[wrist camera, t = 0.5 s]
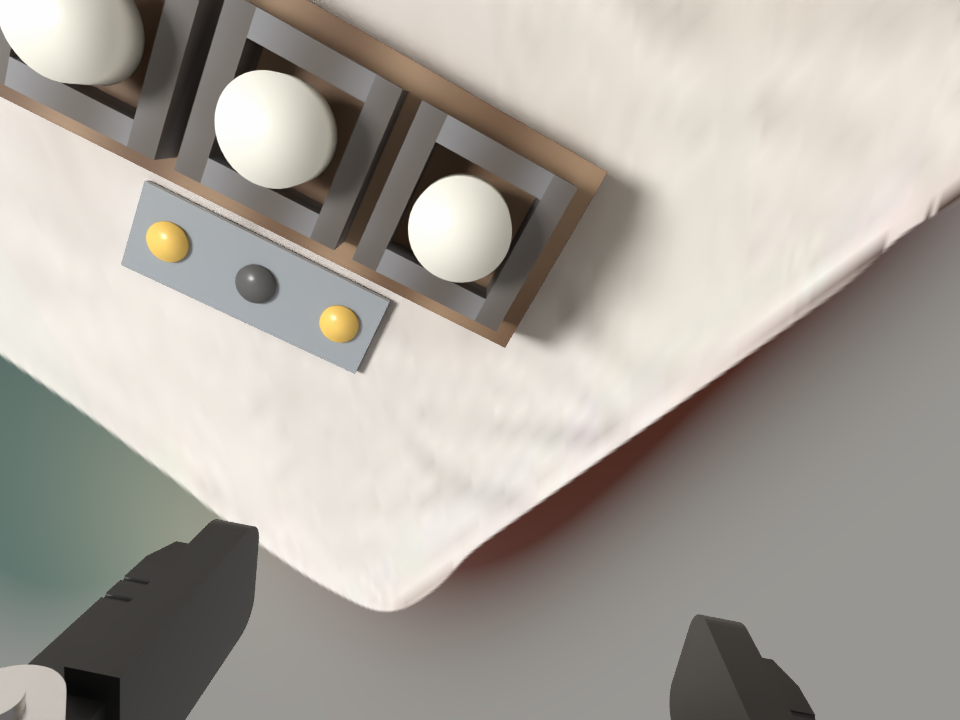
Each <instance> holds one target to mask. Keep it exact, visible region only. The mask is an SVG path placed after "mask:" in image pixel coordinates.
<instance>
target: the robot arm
mask: <svg viewBox="0 0 960 720" xmlns="http://www.w3.org/2000/svg"><path fill="white" fill-rule="evenodd" d="M258 543H259V532H258V529H257V528H256V527H254V526H249V525H244V524H238V523H233V522H228V521H223V520H218V519H215V520H213V521H211V522H210V523H209V524H208V525H207V526H206V527H205V528H204V529H203V530H202V531H201V532H200V533H199V534H198V535H197V536H196V537H195V538H194V539H193V540H192V541H191V542H190V543H188V544H187V543H182V542H177V541H176V542H174V543H172V544H170V545H168V546H166V547H164V548H162V549H160V550H158V551H156V552H154V553H152V554H150V555H148V556H146V557H145V558H144V559H143V560H142V561H141V562H140V563H138V564H137V565H136V566H135V567H134V568H133V569H132V570H131V571H130V572H129V573H128V574H126V575H125V578H124V580H123V581H122V580H120V581H119V582H118V583H116V585H114V586H113V587H112V588H111V589H110V590H109V591H108V592H107V593H106V596H105V597H104V598H102V597H101V598H100V599H99V600H98V601H97V602H96V603H95V604H93V605H92V606H91V607H90V608H89V609H88V610H87V611H86V612H85V613H84V614H82V615H81V616H80V617H79V618H78V619H77V620H76V621H75V622H74V623H73V624H71V625H70V626H69V627H68V628H67V629H66V630H65V631H64V632H63V633H62V634H61V635H60V636H59V637H57V638H56V639H55V640H54V641H53V642H52V643H51V644H50V645H48V646H47V647H46V648H45V649H44V650H43V651H42V652H41V653H40V654H39V655H38V656H36V657H35V658H34V659H33V660H32V661H31V662H30V663H29V664H28V665H15V666H9V667H4V668H0V720H185V719H186V718H187V716H188V715H189V713H190V712H191V710H192V709H193V707H194V706H195V704H196V702H197V701H198V699H199V698H200V696H201V695H202V694H203V692H204V691H205V689H206V688H207V686H208V685H209V683H210V682H211V680H212V679H213V677H214V676H215V674H216V673H217V671H218V670H219V668H220V667H221V665H222V664H223V662H224V661H225V659H226V658H227V656H228V655H229V653H230V652H231V650H232V649H233V647H234V646H235V644H236V642H237V641H238V640H239V638H240V636H241V635H242V633H243V631H244V629H245V627H246V625H247V623H248V620H249V617H250V614H251V611H252V607H253V602H254V593H255V581H256V569H257V555H258ZM670 716H671V720H815V714H814V712H813V711H812V709H811V707H810V705H809V704H808V702H807V700H806V698H805V697H804V695H803V693H802V692H801V690H800V688H799V687H798V685H797V684H796V683H795V682H794V681H793V680H792V679H791V678H790V677H789V676H788V675H787V674H786V673H785V672H784V671H783V670H782V669H781V668H780V667H779V666H778V665H777V664H776V663H775V662H774V661H773V660H771V659H766V658H762V657H761V655H760V653H759V651H758V649H757V647H756V646H755V644H754V642H753V640H752V638H751V636H750V634H749V632H748V631H747V629H746V627H745V626H744V625H743V624H742V623H740V622H735V621H730V620H725V619H720V618H715V617H709V616H704V615H696V616H695V617H694V618H693V620H692V621H691V624H690V627H689V630H688V633H687V636H686V639H685V643H684V646H683V649H682V652H681V655H680V659H679V662H678V665H677V668H676V672H675V675H674V678H673V681H672V685H671V690H670Z"/></svg>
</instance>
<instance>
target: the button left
mask: <svg viewBox="0 0 960 720" xmlns="http://www.w3.org/2000/svg"><path fill="white" fill-rule="evenodd" d="M0 27H1V30H2V32H3V34H4V36H5V38H6V40H7V41H8V43H9V45H10V46H11V48H12V49H13V50H14V52H15V53H16V54H17V55H18V56H19V57H20V58H21V60H22V61H23V62H25V63H26V64H27V65H28V66H29V67H30V68H32V69H33V70H34V71H36V72H37V73H39V74H41V75H42V76H44V77H47V78H49V79H51V80H54V81H58V82H62V83H70V84H82V85H93V86H111V85H115V84H118V83H121V82H123V81H125V80H126V79H127V78H129V77H130V76H131V75H132V74H133V73H134V72H135V70H136V69H137V68H138V66H139V64H140V62H141V59H142V56H143V52H144V45H145V35H144V27H143V22H142V19H141V15H140V13H139V11H138V8H137V6H136V4H135V2H134V0H0Z"/></svg>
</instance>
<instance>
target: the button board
mask: <svg viewBox="0 0 960 720" xmlns="http://www.w3.org/2000/svg"><path fill="white" fill-rule="evenodd" d="M134 2H135V4H136V6H137V8H138V11H139V13H140V15H141V19H142V22H143V27H144V35H145V45H144V52H143V56H142V59H141V62H140V64H139V66H138V68H137V69H136V70H135V72H134V73H133V74H132V75H131V76H130V77H129V78H127V79H126V80H125V81H123V82H121V83H118V84H115V85H111V86H93V85H82V84H70V83H62V82H58V81H54V80H51V79H49V78H47V77H44V76H42V75H41V74H39V73H37V72H36V71H34V70H33V69H32V68H30V67H29V66H28V65H27V64H26V63H25V62H23V61H22V60H21V58H20V57H19V56H18V55H17V54H16V53H15V52H14V50H13V49H12V48H11V46H10V45H9V43H8V41H7V40H6V38H5V36H4V34H3V32H2V30H1V27H0V97H2V98H4V99H7V100H9V101H11V102H13V103H15V104H17V105H19V106H21V107H23V108H25V109H27V110H29V111H31V112H33V113H35V114H37V115H39V116H41V117H43V118H45V119H47V120H49V121H51V122H53V123H55V124H57V125H59V126H61V127H63V128H65V129H67V130H69V131H71V132H73V133H75V134H77V135H79V136H81V137H83V138H85V139H87V140H89V141H91V142H93V143H95V144H97V145H99V146H101V147H103V148H105V149H107V150H109V151H111V152H113V153H115V154H117V155H119V156H121V157H123V158H125V159H127V160H129V161H131V162H133V163H135V164H137V165H139V166H141V167H143V168H145V169H147V170H149V171H151V172H153V173H155V174H157V175H159V176H161V177H163V178H165V179H167V180H169V181H171V182H173V183H175V184H177V185H179V186H181V187H183V188H185V189H187V190H189V191H191V192H193V193H195V194H197V195H199V196H201V197H203V198H205V199H207V200H209V201H211V202H213V203H215V204H217V205H219V206H221V207H223V208H225V209H227V210H229V211H231V212H233V213H236V214H238V215H240V216H242V217H244V218H246V219H248V220H250V221H252V222H254V223H256V224H258V225H260V226H262V227H264V228H266V229H268V230H270V231H272V232H274V233H276V234H278V235H280V236H282V237H284V238H286V239H288V240H290V241H292V242H294V243H296V244H298V245H300V246H302V247H304V248H306V249H308V250H310V251H312V252H314V253H316V254H318V255H320V256H322V257H324V258H326V259H328V260H330V261H332V262H334V263H336V264H338V265H340V266H342V267H344V268H346V269H348V270H350V271H352V272H354V273H356V274H358V275H360V276H362V277H364V278H366V279H368V280H370V281H372V282H374V283H376V284H378V285H380V286H382V287H384V288H386V289H388V290H390V291H392V292H394V293H396V294H398V295H400V296H402V297H404V298H406V299H408V300H410V301H412V302H414V303H416V304H418V305H420V306H422V307H424V308H426V309H428V310H430V311H432V312H434V313H436V314H438V315H440V316H442V317H444V318H446V319H448V320H450V321H452V322H454V323H456V324H458V325H460V326H463V327H465V328H467V329H469V330H471V331H473V332H475V333H477V334H479V335H481V336H483V337H485V338H487V339H489V340H491V341H493V342H495V343H497V344H499V345H501V346H503V347H506V345H507V344H508V342H509V340H510V338H511V337H512V335H513V333H514V332H515V330H516V328H517V326H518V325H519V323H520V321H521V320H522V318H523V316H524V314H525V313H526V311H527V309H528V308H529V306H530V304H531V302H532V301H533V299H534V297H535V296H536V294H537V292H538V290H539V289H540V287H541V285H542V284H543V282H544V280H545V278H546V277H547V275H548V273H549V272H550V270H551V268H552V266H553V265H554V263H555V261H556V260H557V258H558V256H559V254H560V253H561V251H562V249H563V248H564V246H565V244H566V242H567V241H568V239H569V237H570V236H571V234H572V232H573V230H574V229H575V227H576V225H577V224H578V222H579V220H580V218H581V217H582V215H583V213H584V212H585V210H586V208H587V206H588V205H589V203H590V201H591V200H592V198H593V196H594V194H595V193H596V191H597V189H598V187H599V186H600V184H601V182H602V181H603V179H604V177H605V175H606V174H607V172H606V171H604V170H602V169H601V168H599V167H597V166H596V165H594V164H592V163H590V162H589V161H587V160H585V159H583V158H582V157H580V156H578V155H576V154H575V153H573V152H571V151H569V150H568V149H566V148H564V147H562V146H561V145H559V144H557V143H555V142H554V141H552V140H550V139H548V138H547V137H545V136H543V135H542V134H540V133H538V132H536V131H535V130H533V129H531V128H529V127H528V126H526V125H524V124H522V123H521V122H519V121H517V120H515V119H514V118H512V117H510V116H508V115H507V114H505V113H503V112H501V111H500V110H498V109H496V108H495V107H493V106H491V105H489V104H488V103H486V102H484V101H482V100H481V99H479V98H477V97H475V96H474V95H472V94H470V93H468V92H467V91H465V90H463V89H461V88H460V87H458V86H456V85H454V84H453V83H451V82H449V81H448V80H446V79H444V78H442V77H441V76H439V75H437V74H435V73H434V72H432V71H430V70H428V69H427V68H425V67H423V66H421V65H420V64H418V63H416V62H414V61H413V60H411V59H409V58H407V57H406V56H404V55H402V54H401V53H399V52H397V51H395V50H394V49H392V48H390V47H388V46H387V45H385V44H383V43H381V42H380V41H378V40H376V39H374V38H373V37H371V36H369V35H367V34H366V33H364V32H362V31H360V30H359V29H357V28H355V27H353V26H352V25H350V24H348V23H347V22H345V21H343V20H341V19H340V18H338V17H336V16H334V15H333V14H331V13H329V12H327V11H326V10H324V9H322V8H320V7H319V6H317V5H315V4H313V3H312V2H310V1H308V0H134ZM257 70H268V71H274V72H279V73H283V74H288V75H292V76H295V77H298V78H300V79H303V80H305V81H306V82H308V83H309V84H311V85H312V86H313V87H315V88H316V89H317V90H318V91H319V92H320V93H321V94H322V95H323V97H324V98H325V99H326V101H327V102H328V104H329V106H330V107H331V110H332V112H333V114H334V117H335V120H336V125H337V134H338V137H337V147H336V151H335V154H334V157H333V159H332V161H331V163H330V164H329V166H328V167H327V168H326V169H325V170H324V172H323V173H321V174H320V175H319V176H317V177H316V178H314V179H312V180H310V181H307V182H305V183H302V184H299V185H296V186H293V187H289V188H283V189H272V188H266V187H263V186H259V185H257V184H254V183H252V182H250V181H249V180H247V179H245V178H244V177H243V176H241V175H240V174H239V173H238V172H237V171H236V170H235V169H234V168H233V167H232V166H231V165H230V164H229V162H228V161H227V159H226V158H225V156H224V154H223V152H222V151H221V148H220V146H219V143H218V140H217V137H216V132H215V110H216V106H217V103H218V100H219V98H220V96H221V94H222V92H223V90H224V89H225V88H226V87H227V85H228V84H229V83H230V82H231V81H233V80H234V79H235V78H237V77H238V76H240V75H242V74H244V73H247V72H251V71H257ZM459 173H462V174H471V175H475V176H478V177H481V178H483V179H485V180H486V181H488V182H490V183H491V184H492V185H493V186H494V187H496V189H497V190H498V191H499V192H500V193H501V195H502V196H503V198H504V200H505V202H506V204H507V206H508V209H509V214H510V218H511V224H512V238H511V243H510V247H509V250H508V252H507V254H506V256H505V258H504V259H503V261H502V262H501V263H500V265H499V266H498V267H497V268H496V269H495V270H494V271H493V272H491V273H490V274H488V275H487V276H485V277H483V278H481V279H478V280H475V281H471V282H451V281H447V280H443V279H441V278H439V277H437V276H435V275H433V274H432V273H430V272H429V271H428V270H426V269H425V268H424V267H423V266H422V265H421V263H420V262H419V261H418V259H417V258H416V256H415V254H414V252H413V250H412V248H411V245H410V241H409V235H408V224H409V218H410V213H411V211H412V208H413V206H414V204H415V203H416V201H417V199H418V198H419V197H420V195H421V194H422V193H423V192H424V191H425V190H426V189H427V188H428V187H429V186H430V185H431V184H432V183H434V182H435V181H437V180H438V179H440V178H442V177H445V176H448V175H452V174H459Z"/></svg>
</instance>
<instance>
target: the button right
mask: <svg viewBox="0 0 960 720" xmlns="http://www.w3.org/2000/svg"><path fill="white" fill-rule="evenodd" d="M408 235H409V241H410V245H411V248H412V250H413V252H414V254H415V256H416V258H417V259H418V261H419V262H420V263H421V265H422V266H423V267H424V268H425V269H426V270H428V271H429V272H430V273H432V274H433V275H435V276H437V277H439V278H441V279H443V280H447V281H451V282H471V281H475V280H478V279H481V278H483V277H485V276H487V275H488V274H490V273H491V272H493V271H494V270H495V269H496V268H497V267H498V266H499V265H500V263H501V262H502V261H503V259H504V258H505V256H506V254H507V252H508V250H509V247H510V243H511V238H512V224H511V218H510V214H509V209H508V206H507V204H506V202H505V200H504V198H503V196H502V195H501V193H500V192H499V191H498V190H497V189H496V187H494V186H493V185H492V184H491V183H490V182H488V181H486V180H485V179H483V178H481V177H478V176H475V175H471V174H462V173H459V174H452V175H448V176H445V177H442V178H440V179H438V180H437V181H435V182H434V183H432V184H431V185H430V186H429V187H428V188H427V189H426V190H425V191H424V192H423V193H422V194H421V195H420V197H419V198H418V199H417V201H416V203H415V204H414V206H413V208H412V211H411V213H410V218H409V224H408Z"/></svg>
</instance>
